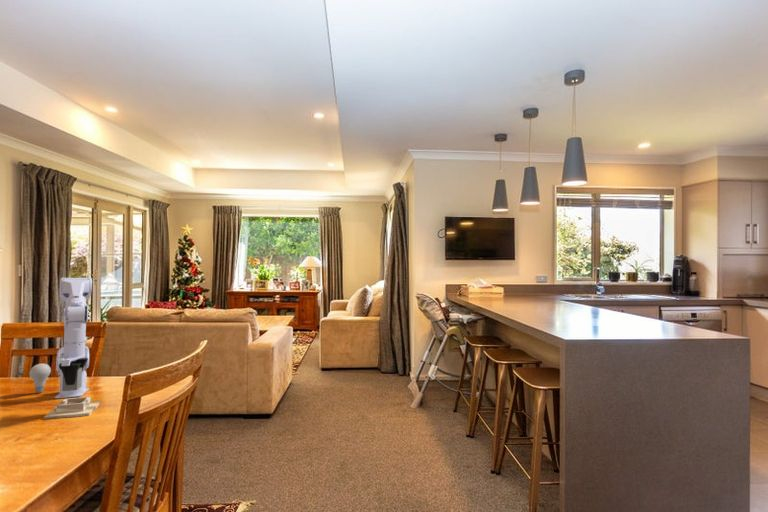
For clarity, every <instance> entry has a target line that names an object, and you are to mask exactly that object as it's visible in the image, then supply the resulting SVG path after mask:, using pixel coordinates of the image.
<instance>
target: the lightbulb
mask: <svg viewBox="0 0 768 512" xmlns="http://www.w3.org/2000/svg"><path fill="white" fill-rule="evenodd" d="M51 372H52V368H51V367H50V365H49V364H47V363H38V364H35V365H33V366H32V367H31V368H30V371H29V377H30V378H31V379H32V381H33V383H34V384H33V385H34V392H35V393H37V394H41V393H42V392H44V391H45V385H46V381H47V379H48V378H49V376H50V375H51Z"/></svg>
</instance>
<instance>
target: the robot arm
mask: <svg viewBox="0 0 768 512" xmlns="http://www.w3.org/2000/svg"><path fill="white" fill-rule="evenodd" d="M92 290H93V278H92V277H90V276H89V277H63V276H62V277H61V278H59V290H58V291H59V298H60V301H63V302H65V307H64V309H63V316H62V317H63V318H62V319H63V321H62V322H63V330H64V331H63V332H64V335H63V336H64V337H63V346H62V347H61V348H59V349H58V350H57V352H56V357H55V358H56V359H55V360H56V361H55V363H56V365H55V371H57V372H59V393H58V394H57V395H55V396H54V399H68V398H81V396H83V395H84V394H85V393H86V392H88V391H89V390H90V388H89V387H87V377H88V376H87V375H88V374H87V371H86V369H88V368H89V366H90V349H89V347H88V346H86V338H87V335H86V331H87V323H88V320H89V307H88V305H87V301H89V300H90V298H91V296H92V292H93V291H92ZM79 368H82V384H81V387H80V388H79V389H78V390H71V391H62V386H63V375H64V378H65V383H66V385H74V384H75V381H76V376H77V372H78V369H79Z"/></svg>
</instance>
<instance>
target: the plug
mask: <svg viewBox="0 0 768 512" xmlns="http://www.w3.org/2000/svg"><path fill="white" fill-rule="evenodd" d="M81 384H82V368H79V369H78V372H77V376H76V381H75V384H74V385H66V383H65V378H64V375H63V386H62V391H71V390H78V389H79V388H80V387H81Z"/></svg>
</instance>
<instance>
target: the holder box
mask: <svg viewBox="0 0 768 512" xmlns="http://www.w3.org/2000/svg"><path fill="white" fill-rule="evenodd" d="M91 399H92V397H91V396H86V397H85V396H84V397H68V398H64V400H62V401H61V402H59V403H58V404H57V405H56V406H55V407H54V408H53V409H51V411H49V412H48V413H47V414H45V416H43V420H44V421H45V420H54V419H55V420H56V419H65V418H66V419H67V418H76V417H87V416H88V417H89V416H91V414H92V413H93V412H94V411H95V410H96V409H97V408H98V407H99V406H100V405H101V403H102V401H101V400H100V401H99V400H98V401H91Z"/></svg>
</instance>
